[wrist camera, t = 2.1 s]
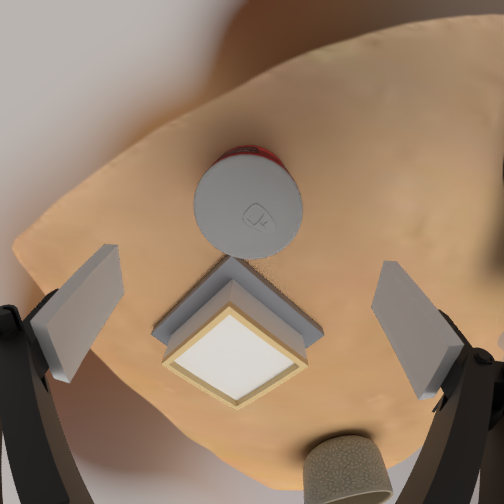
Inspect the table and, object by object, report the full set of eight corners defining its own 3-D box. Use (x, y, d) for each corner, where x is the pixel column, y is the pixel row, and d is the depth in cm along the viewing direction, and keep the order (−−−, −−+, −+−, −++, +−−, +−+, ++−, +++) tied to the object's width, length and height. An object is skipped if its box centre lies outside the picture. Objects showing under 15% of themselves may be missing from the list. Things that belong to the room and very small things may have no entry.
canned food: (270, 227, 33) (276, 275, 23) (201, 199, 32) (177, 236, 22) (300, 163, 31) (323, 184, 20) (229, 133, 29) (215, 137, 19)
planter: (375, 416, 48) (395, 482, 34) (378, 450, 55) (392, 503, 41) (290, 439, 51) (296, 507, 37) (308, 469, 57) (313, 523, 43)
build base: (232, 250, 35) (227, 280, 28) (322, 328, 39) (332, 364, 33) (153, 327, 39) (139, 362, 33) (239, 386, 44) (237, 422, 37)
